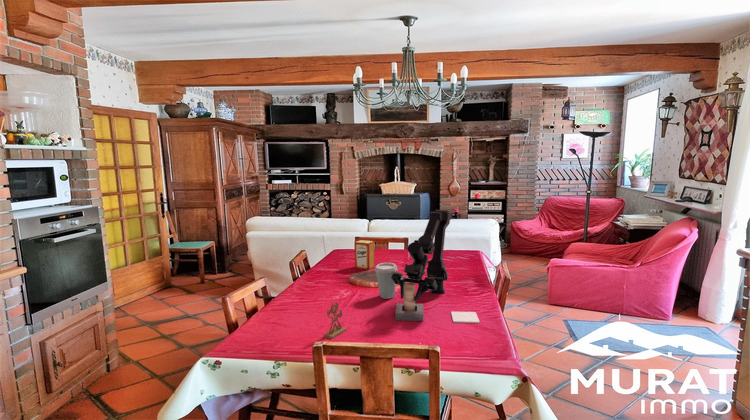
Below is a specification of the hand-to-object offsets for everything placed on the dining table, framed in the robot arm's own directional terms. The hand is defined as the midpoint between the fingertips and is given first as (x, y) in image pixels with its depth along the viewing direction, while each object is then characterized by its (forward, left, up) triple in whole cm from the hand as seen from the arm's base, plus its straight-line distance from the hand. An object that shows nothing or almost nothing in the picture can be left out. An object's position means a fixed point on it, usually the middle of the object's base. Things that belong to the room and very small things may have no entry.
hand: (408, 299), depth 162 cm
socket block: (-1, +1, -7) cm, 7 cm away
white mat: (0, +23, -7) cm, 24 cm away
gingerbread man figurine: (+18, -26, -7) cm, 33 cm away
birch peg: (-1, +1, -7) cm, 7 cm away
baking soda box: (-72, -26, -7) cm, 77 cm away
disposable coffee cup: (-23, -10, -7) cm, 27 cm away
